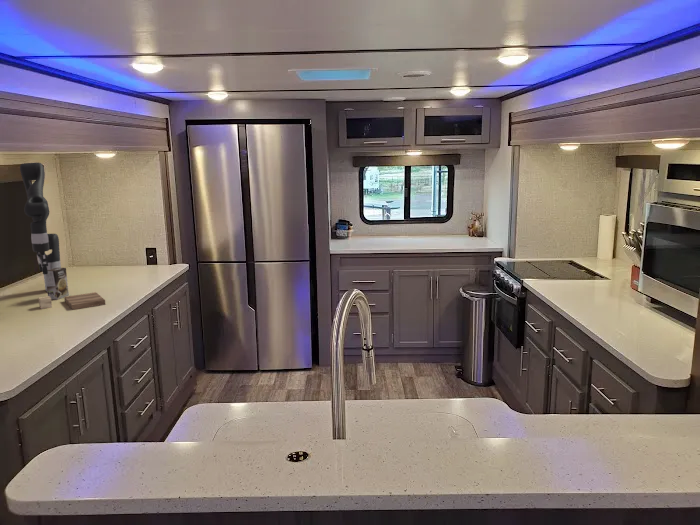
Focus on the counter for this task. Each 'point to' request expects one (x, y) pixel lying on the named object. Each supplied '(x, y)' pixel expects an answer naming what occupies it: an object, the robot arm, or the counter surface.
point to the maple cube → (45, 302)
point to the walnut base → (84, 300)
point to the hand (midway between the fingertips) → (43, 272)
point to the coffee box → (57, 283)
